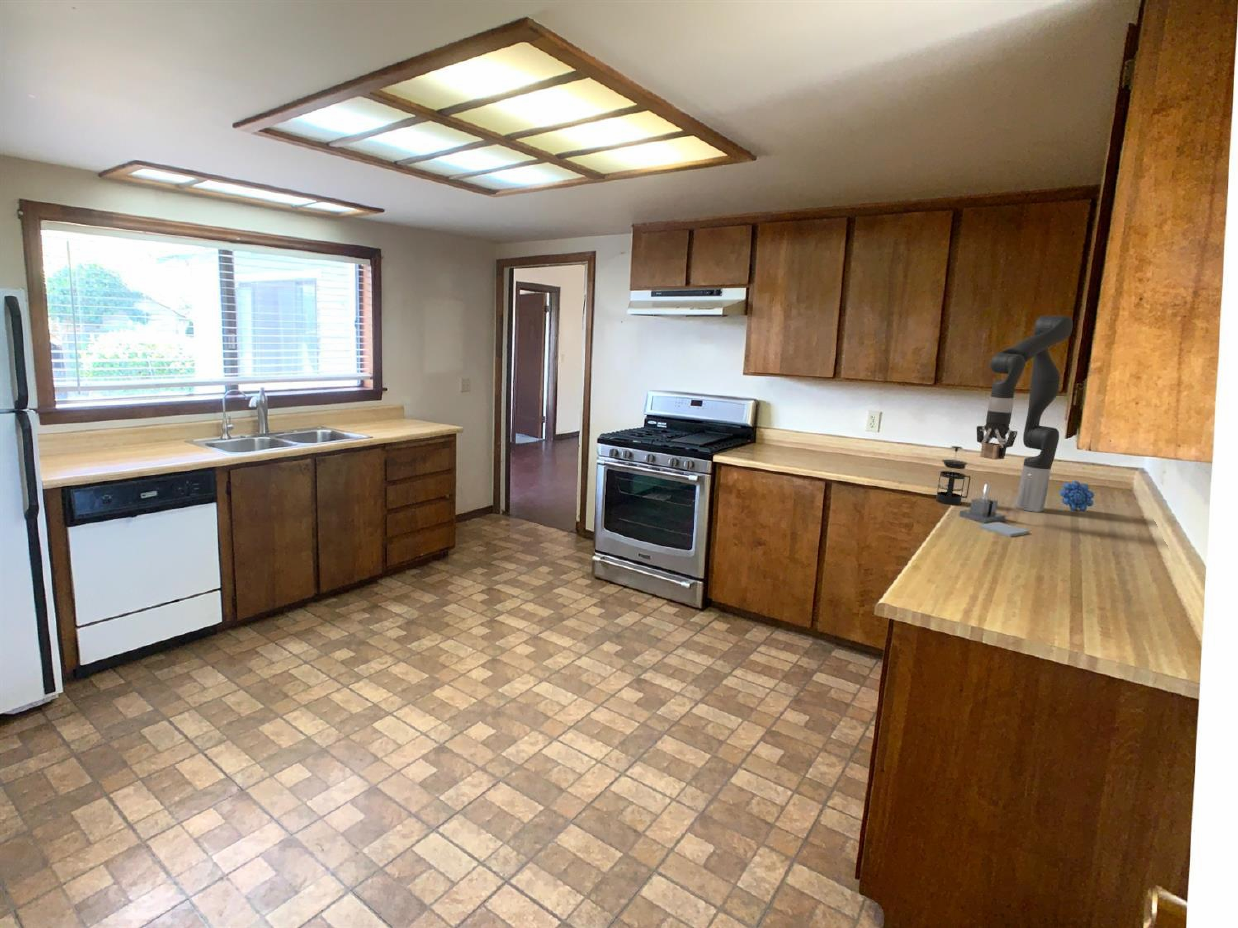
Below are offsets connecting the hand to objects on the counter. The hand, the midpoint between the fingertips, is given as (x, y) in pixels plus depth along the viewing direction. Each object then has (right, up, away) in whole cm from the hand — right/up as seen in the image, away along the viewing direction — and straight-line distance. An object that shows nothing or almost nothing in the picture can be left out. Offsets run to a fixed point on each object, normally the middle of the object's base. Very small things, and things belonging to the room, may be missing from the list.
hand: (992, 456), depth 232 cm
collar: (0, -1, 0) cm, 1 cm away
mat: (-2, -26, -10) cm, 28 cm away
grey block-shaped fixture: (-1, -23, +5) cm, 23 cm away
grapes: (+47, -22, +24) cm, 57 cm away
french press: (-2, -19, +27) cm, 33 cm away
